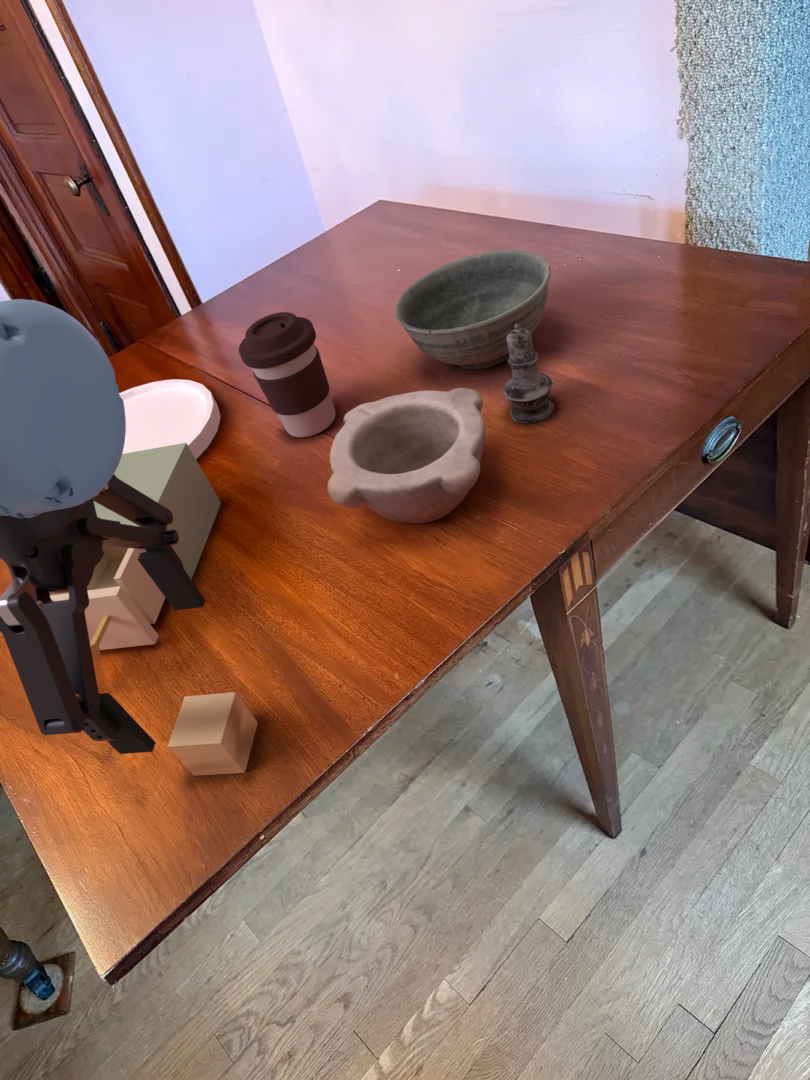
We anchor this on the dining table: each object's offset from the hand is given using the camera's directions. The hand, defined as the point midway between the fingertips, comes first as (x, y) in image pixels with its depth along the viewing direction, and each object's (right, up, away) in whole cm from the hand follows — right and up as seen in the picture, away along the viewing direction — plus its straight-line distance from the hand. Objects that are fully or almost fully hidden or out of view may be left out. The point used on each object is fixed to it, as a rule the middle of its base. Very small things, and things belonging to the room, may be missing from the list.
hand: (166, 671), depth 59 cm
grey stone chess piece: (+35, +26, +32) cm, 54 cm away
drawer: (-12, +2, +23) cm, 26 cm away
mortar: (+21, +15, +25) cm, 37 cm away
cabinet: (-11, +9, +31) cm, 35 cm away
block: (+3, -8, +8) cm, 12 cm away
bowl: (+30, +37, +45) cm, 65 cm away
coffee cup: (+6, +26, +43) cm, 51 cm away
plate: (-22, +24, +52) cm, 61 cm away
